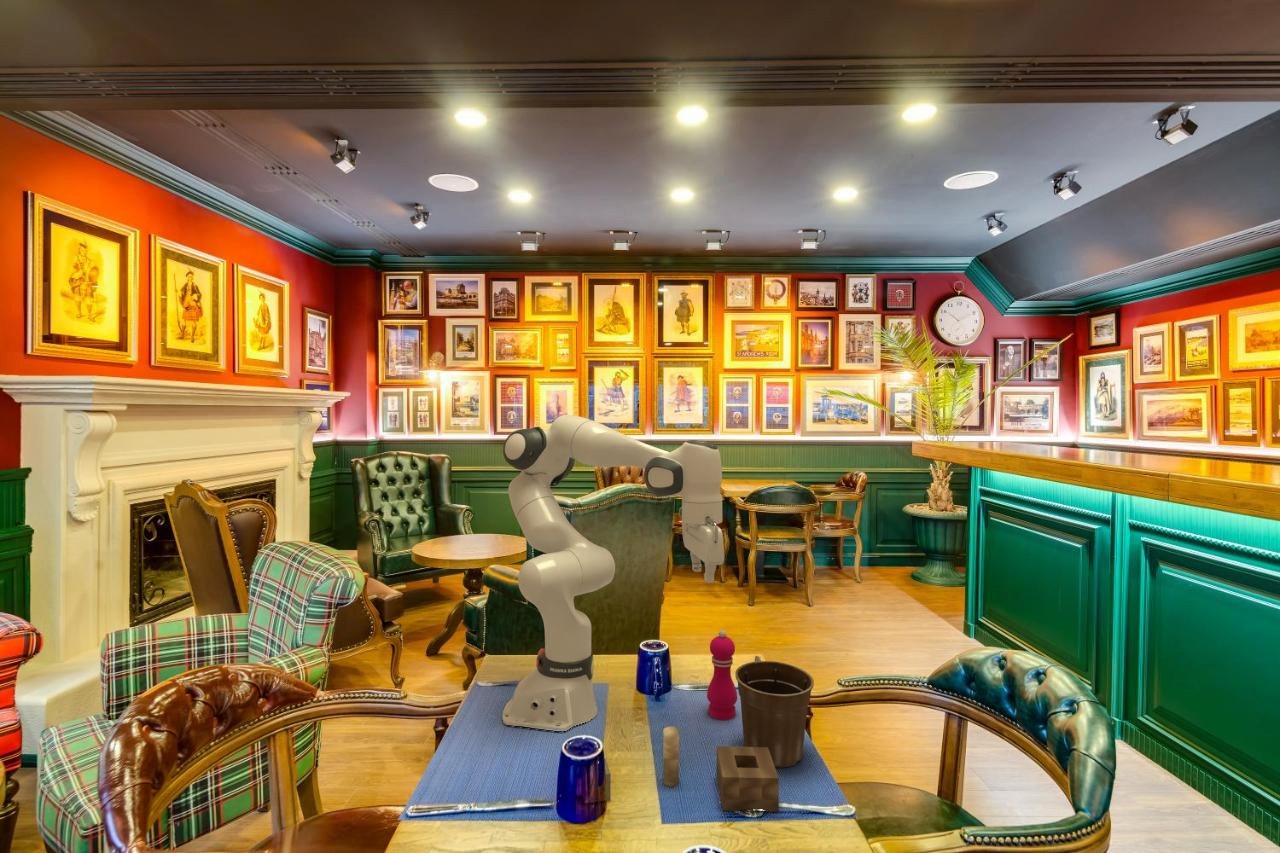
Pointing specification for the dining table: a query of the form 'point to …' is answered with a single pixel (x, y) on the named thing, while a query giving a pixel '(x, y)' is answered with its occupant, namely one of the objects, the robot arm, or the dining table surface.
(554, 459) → the robot arm
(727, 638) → the pepper mill
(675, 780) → the pin
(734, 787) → the bore block
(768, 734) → the plant pot
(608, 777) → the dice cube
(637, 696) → the dining table surface
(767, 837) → the dining table surface
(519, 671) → the dining table surface
